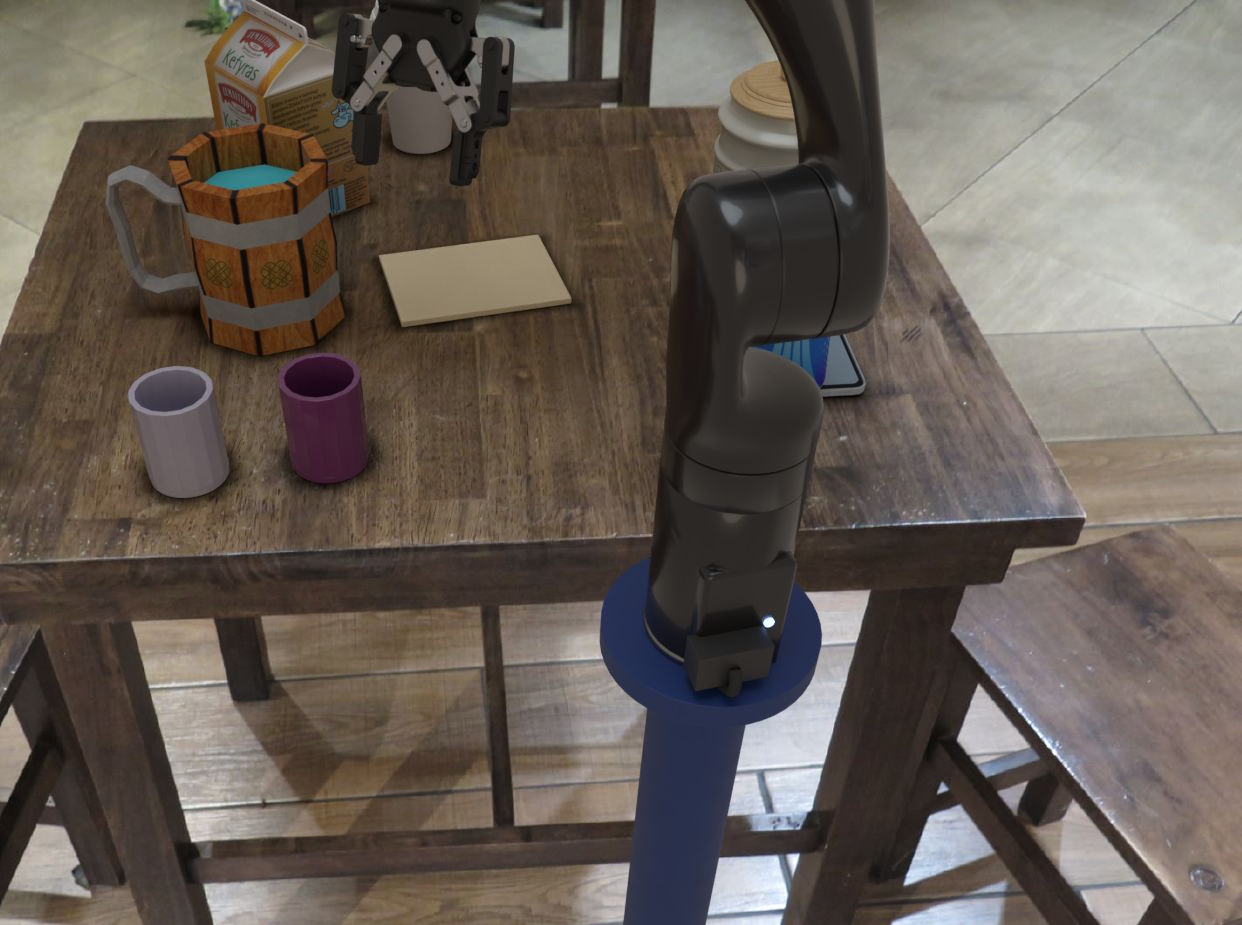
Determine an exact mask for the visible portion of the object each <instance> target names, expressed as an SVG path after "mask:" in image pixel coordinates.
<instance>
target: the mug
mask: <svg viewBox="0 0 1242 925" xmlns="http://www.w3.org/2000/svg"><path fill="white" fill-rule="evenodd" d="M167 161H168V164H169V167H170V170H171V173H172V176H173V180H174V182H175V185H176V187H171V186H170V185H168V184H167V183H165V182H164V181H163V180H161V179H160V178H159V177H158V176H156V175H155V174H154V173H152V172H151V171H150V170H147V169H144V168H141V167H138V166H136V165H132V164H130V165H127V166H125V167H123V168H121V169H118V170H116V171H114V172H111V173H110V174H108V176H107V181H106V191H105V192H106V193H105V201H104V204H105V207H106V210H107V213H108V215H109V218H110V220H111V224H112V226H113V228H114V231H115V234H116V238H117V242H118V246H119V250H120V254H121V256H122V259H123V261H124V265H125V267H126V271H127V273H128V274H129V275H130V276H131V278H132V279H133V280H134V281H135V283H136V284H137V286H139V288H140V289H142V290H145V291H148V292H150V293H154V294H156V295H159V296H160V295H164V294H168V293H169V294H170V293H173V292H178V291H185V290H192V289H197V288H198V302H199V313H200V316H201V319H202V323H203V325H204V328H205V330H206V333H207V336H208V339H209V342H210V343H211V344H214V345H218V346H221V347H225V348H229V349H232V350H236V351H239V352H243V353H245V354H249V355H253V356H257V357H263V356H268V355H272V354H273V355H274V354H279V353H283V352H287V351H293V350H298V349H303V348H307V347H312V346H316V345H318V344H319V343H320V342H321V341H322V340H323V339H325V337H326V336H327V335H328V334H329V333H330V332H331V331H332V330H333V329H334V328H336V326H337V325H338V324H339V323H340V322H341V321H342V320H343V319H344V318H346V316H347V314H346V309H345V304H344V301H343V297H342V294H341V286H340V277H339V267H338V265H339V264H338V263H339V262H338V240H337V236H336V231H335V226H334V222H333V217H331V212H330V203H329V195H328V160H327V158H326V156H325V154H324V153H323V151H322V149H321V147H320V145H319V144H318V142H317V140H316V138H315V137H314V135H313V134H310V133H305V132H300V131H296V130H291V129H287V128H282V127H278V126H273V125H268V124H264V123H260V124H254V125H247V126H241V127H235V128H228V129H222V130H216V129H215V130H210V131H204V132H203V131H202V132H201V133H200V134H199V135H197V136H196V137H195V138H194V139H192V140H190V141H189V142H188V143H186V144H185V145H183V146H182V147H180V148H179V149H178V150H176V151H175V152H174V153H172V154H171V155H169V156H168V157H167ZM127 182H128V183H131V184H133V185H136V186H138V187H141V188H142V189H144V190H145V191H146V192H147V193H149V194H150V195H151V196H152V197H153V198H154V199H155V200H158V201H159V202H161V203H163V204H164V205H171V206H178V207H180V209H181V218H182V227H183V236H184V241H185V244H186V247H187V251H188V254H189V256H190V259H191V262H192V267H193V270H194V271H189V272H182V273H176V274H173V275H170V276H167V277H164V278H161V277H159V276H156V275H154V274H150V273H149V272H148V270H147V269H146V267H145V266H144V265H143V263H142V262H141V260H140V258H139V254H138V250H137V247H136V243H135V239H134V235H133V231H132V226H131V223H130V221H129V218H128V216H127V214H126V211H125V209H124V206H123V204H122V201H121V199H120V185H122V184H124V183H127Z"/></svg>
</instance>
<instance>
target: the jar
mask: <svg viewBox="0 0 1242 925" xmlns="http://www.w3.org/2000/svg"><path fill="white" fill-rule="evenodd" d="M729 94H730V95H729V96H728V97H726V98H725V99H724V100H723V101H722V102H721V103H720V105H719V107H718V109H717V118H718V120H719V123H720V125H721V130H720V133H719V135H718V136H717V137H716V138H715V140H714V142H713V143H714V144H713V152H714V161H713V168H712V173H718V172H726V171H735V170H746V169H753V168H762V167H771V166H781V165H790V164H798V141H797V132H796V125H795V118H794V112H793V107H792V102H791V97H790V93H789V89H788V85H787V82H786V79H785V76H784V73H783V70H782V67H781V65H780V63H779V60H778V59H776V60H771V61H765V62H762V63H759V64H757V65H755V66H754V67H752V68H751V69H749V70H746V71H744V72H742V73H740V74H738V75H737V76H735V78H734V79H732V81H731V83H730V86H729Z"/></svg>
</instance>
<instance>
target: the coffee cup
mask: <svg viewBox="0 0 1242 925" xmlns="http://www.w3.org/2000/svg"><path fill="white" fill-rule="evenodd" d="M378 9H379V4H378V0H375V4H374V7H373V9H372V10H371V12H370V16H369V18H370V19H371V20H375V18H376V16H377V13H378ZM377 53H378V54H379V51H378V50H377ZM385 103H386V108H387V114H388V122H389V127H390V133H391V139H392V144H393V145H394V148H396V149H398V150H400V151H402V152H404V153H407V154H414V155H415V154H416V155H426V154H433V153H437V152H440V151H442V150H444V149H446V148H448V147H449V145H450V144H451V142H452V128H453V126H452V125H453V116H452V114H451V112H450V110H449V108H448V106H447V105H445V104H444V103H443V102H442V100H441V98H440V96H439V94H438V92H429V91H423V90H420V89H419V88H417V87H400V88H399V89H398V90H397V91H395V92H393V93H392V94H391V95H390V96H389V98H388V99H387V100H386V102H385Z"/></svg>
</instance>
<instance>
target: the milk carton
mask: <svg viewBox="0 0 1242 925" xmlns="http://www.w3.org/2000/svg"><path fill="white" fill-rule="evenodd" d="M242 3H243V9H244V10H243V11H242V13H241V14H240V15H239V16H238V17H237V18H235V20H234V21H233V22H232V23H231V24H230V25H229V26H228V27H227V29H225V31H224V32H223V33H222V34H221V36H220V37H219V38H218V39H217V40H216V42H215V43H214V45H213V46H212V48H211V49H210V51H209V53H208V54H207V56H206V57H205V59H204V67H205V73H206V80H207V84H208V90H209V95H210V100H211V108H212V113H213V118H214V124H215V131H216V130H222V129H228V128H235V127H241V126H247V125H254V124H260V123H264V124H268V125H273V126H278V127H282V128H287V129H291V130H296V131H300V132H305V133H310V134H313V135H314V137H315V138H316V140H317V142H318V144H319V145H320V147H321V149H322V151H323V153H324V154H325V156H326V158H327V160H328V195H329V203H330V212H331V217H332V218H334V217H337V216H339V215H342V214H344V213H347V212H349V211H352V210H354V209H356V208H359V207H363V206H365V205H367V204H370V203H371V198H370V197H371V196H370V188H369V186H370V185H369V176H368V165H367V166H365V165H360V164H357V163H356V161H355V155H353V153H352V149H351V144H352V129H353V110H352V108H351V106H350V105H349V104H348V103H346V102H345V101H343V100H342V99H337V98H335V97H334V96H333V94H332V80H333V71H334V61H335V52H336V51H334V50H333V49H331V48H329V47H327V46H325V45H323V44H321V43H320V42H318V41H316V40H314V39H312V38H311V37H309V35H308V30H307V28H306V26H304V25H302V24H300V23H299V22H297V21H295V20H293V19H291V18H289V17H287V16H285V15H283V14H282V13H280V12H278V11H276V10H275V9H272V8H271V7H269V6H267V5H265V4H264V3H261V2H259V1H257V0H242Z"/></svg>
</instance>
